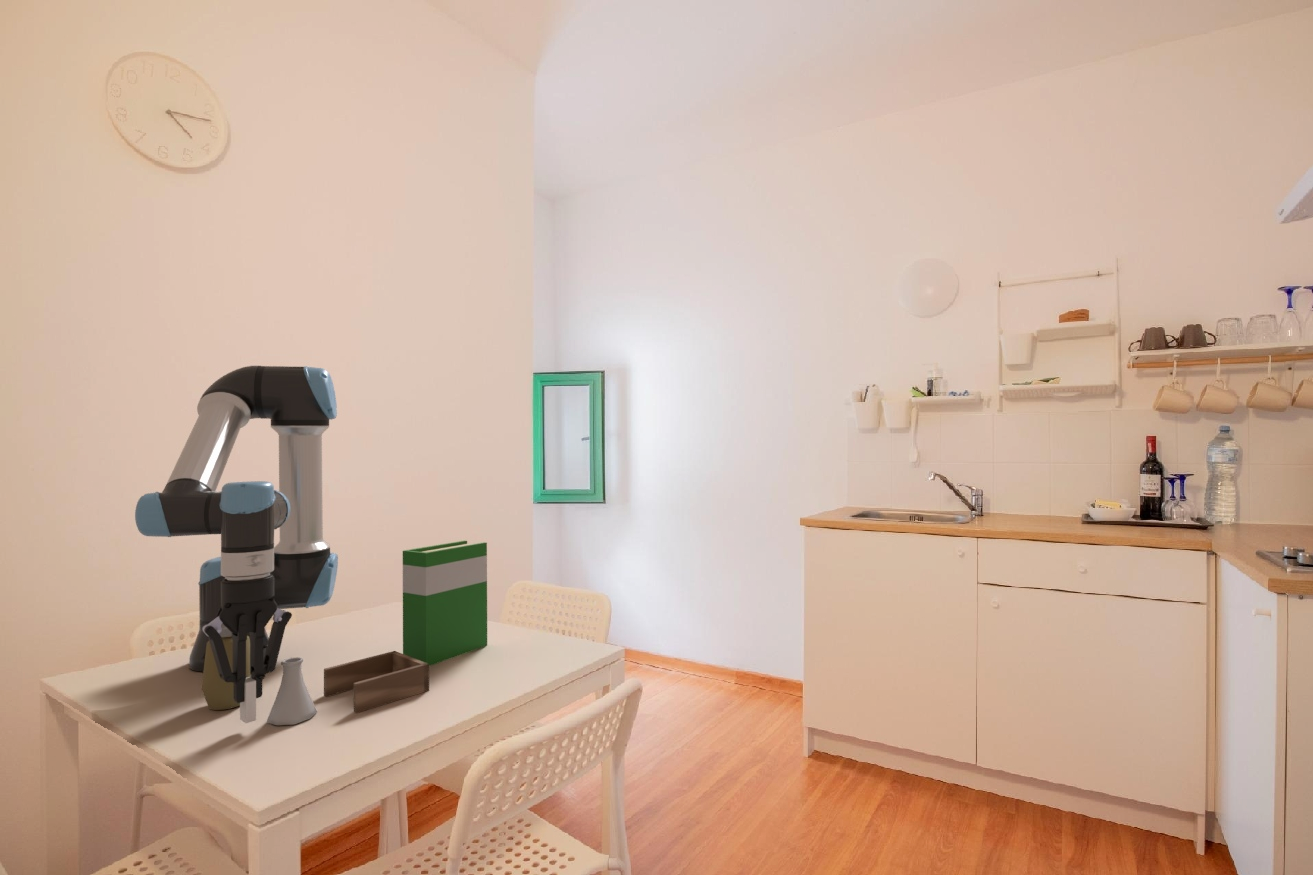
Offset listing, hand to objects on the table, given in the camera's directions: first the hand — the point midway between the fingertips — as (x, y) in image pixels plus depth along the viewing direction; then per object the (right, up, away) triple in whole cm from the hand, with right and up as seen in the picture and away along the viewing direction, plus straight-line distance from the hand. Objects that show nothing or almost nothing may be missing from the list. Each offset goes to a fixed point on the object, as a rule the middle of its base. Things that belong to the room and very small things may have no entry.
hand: (248, 719), depth 109 cm
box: (+14, -2, +16) cm, 22 cm away
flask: (+4, -2, +5) cm, 7 cm away
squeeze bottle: (-11, -2, +11) cm, 16 cm away
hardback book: (+20, -3, +41) cm, 45 cm away
